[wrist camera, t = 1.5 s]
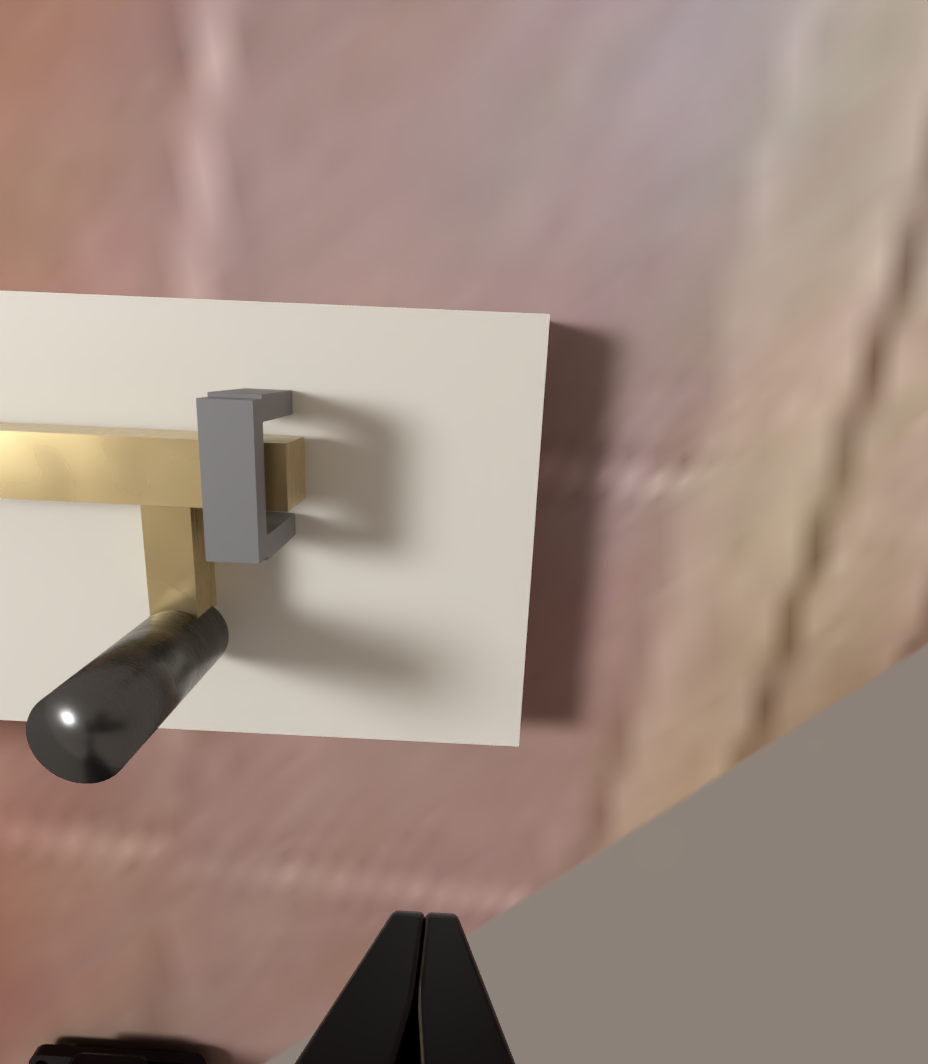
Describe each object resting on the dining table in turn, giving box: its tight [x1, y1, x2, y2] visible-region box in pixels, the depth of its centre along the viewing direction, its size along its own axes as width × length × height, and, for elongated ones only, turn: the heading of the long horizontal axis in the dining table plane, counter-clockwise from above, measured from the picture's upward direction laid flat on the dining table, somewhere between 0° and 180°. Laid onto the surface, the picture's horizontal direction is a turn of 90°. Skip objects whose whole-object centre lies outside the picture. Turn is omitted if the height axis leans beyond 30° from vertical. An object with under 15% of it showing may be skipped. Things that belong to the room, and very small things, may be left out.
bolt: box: [0, 422, 306, 783], centre depth 14 cm, size 6×10×6 cm, turn 88°
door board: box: [0, 291, 550, 746], centre depth 17 cm, size 12×24×6 cm, turn 88°
